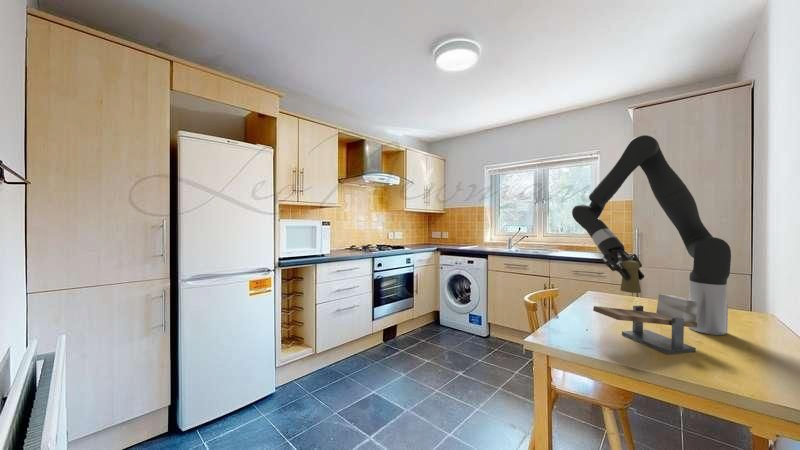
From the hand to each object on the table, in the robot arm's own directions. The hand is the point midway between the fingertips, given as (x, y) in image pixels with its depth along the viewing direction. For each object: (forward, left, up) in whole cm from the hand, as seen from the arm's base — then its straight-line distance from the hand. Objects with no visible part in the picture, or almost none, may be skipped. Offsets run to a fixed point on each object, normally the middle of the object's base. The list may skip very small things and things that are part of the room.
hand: (635, 278), depth 108 cm
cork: (0, -2, -5) cm, 5 cm away
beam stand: (+4, +11, -18) cm, 22 cm away
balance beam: (+9, +11, -10) cm, 18 cm away
